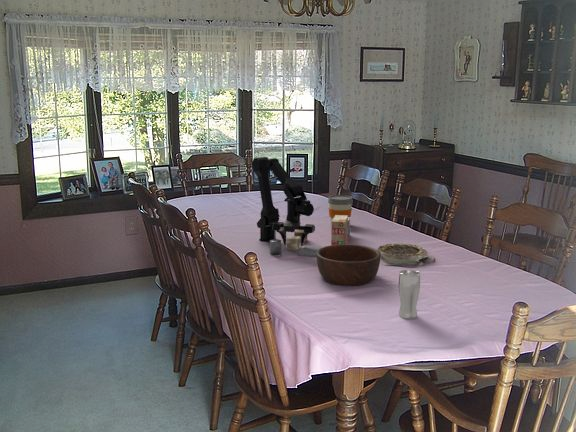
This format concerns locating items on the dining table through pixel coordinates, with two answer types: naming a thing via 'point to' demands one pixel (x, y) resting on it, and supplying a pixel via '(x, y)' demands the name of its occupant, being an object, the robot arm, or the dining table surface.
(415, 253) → the pie
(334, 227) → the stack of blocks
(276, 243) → the dark metal cylinder
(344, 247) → the wooden bowl
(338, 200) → the reusable coffee cup
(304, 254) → the slate mat
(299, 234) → the rectangular block
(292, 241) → the ash block
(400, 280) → the beer glass
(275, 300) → the dining table surface
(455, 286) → the dining table surface
